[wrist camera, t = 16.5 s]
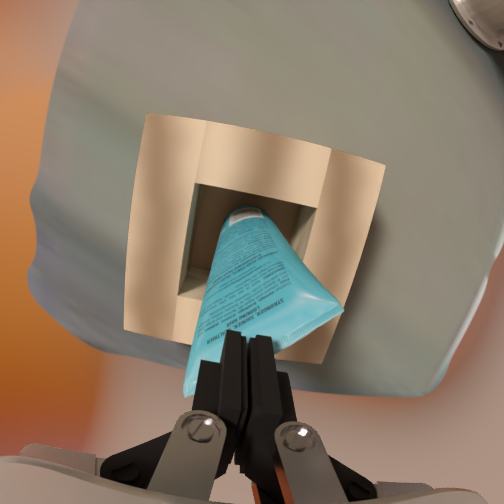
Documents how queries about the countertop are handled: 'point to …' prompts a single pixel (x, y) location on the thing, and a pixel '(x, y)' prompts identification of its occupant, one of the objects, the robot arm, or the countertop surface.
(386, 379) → the countertop surface
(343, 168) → the socket block
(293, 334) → the tube
